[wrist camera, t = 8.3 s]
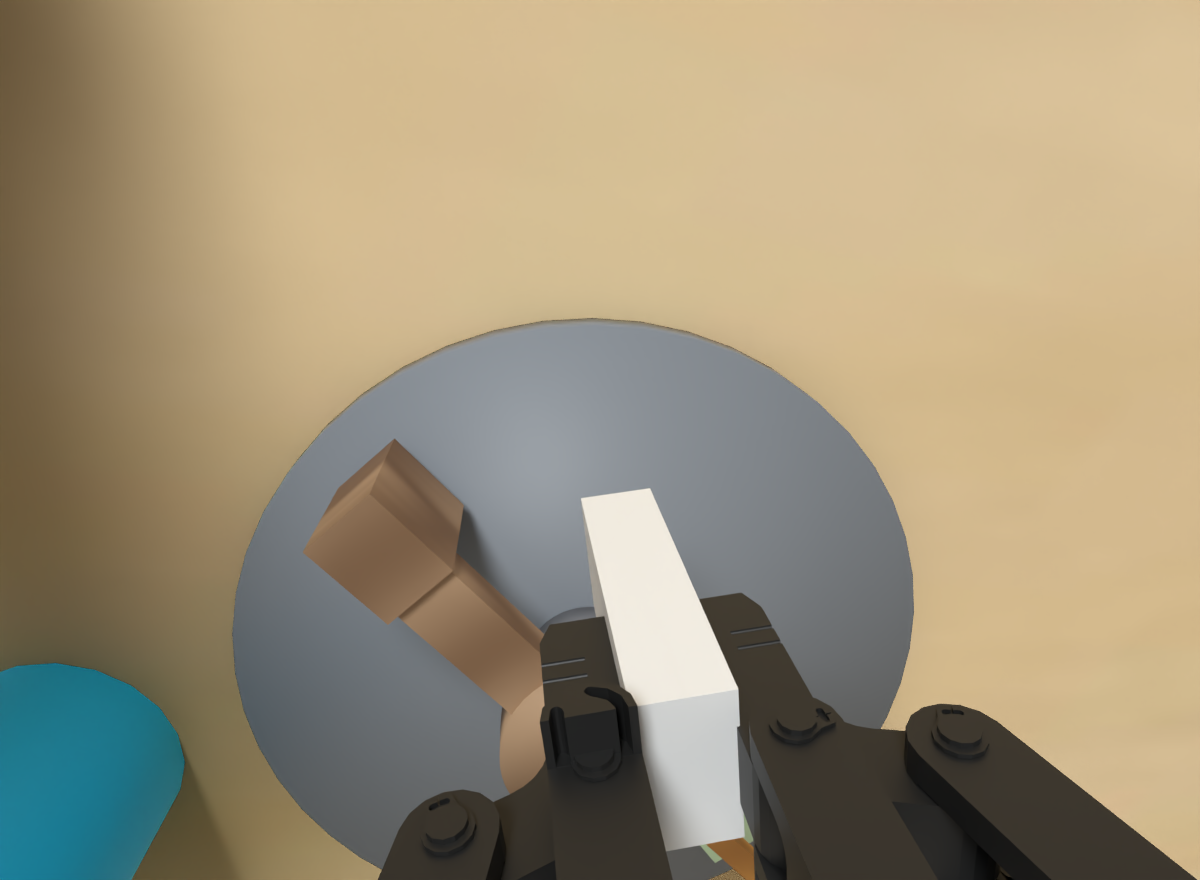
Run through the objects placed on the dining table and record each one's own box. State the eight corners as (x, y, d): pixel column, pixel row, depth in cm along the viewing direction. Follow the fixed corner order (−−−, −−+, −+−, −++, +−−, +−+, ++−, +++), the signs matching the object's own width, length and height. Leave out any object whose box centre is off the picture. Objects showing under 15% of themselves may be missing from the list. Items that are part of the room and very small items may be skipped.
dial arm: (296, 524, 24) (253, 594, 20) (437, 400, 23) (421, 448, 19) (710, 881, 31) (738, 986, 27) (831, 796, 30) (878, 891, 26)
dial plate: (123, 425, 24) (51, 473, 20) (860, 235, 25) (922, 248, 21) (377, 945, 33) (359, 1047, 29) (924, 799, 33) (977, 881, 29)
